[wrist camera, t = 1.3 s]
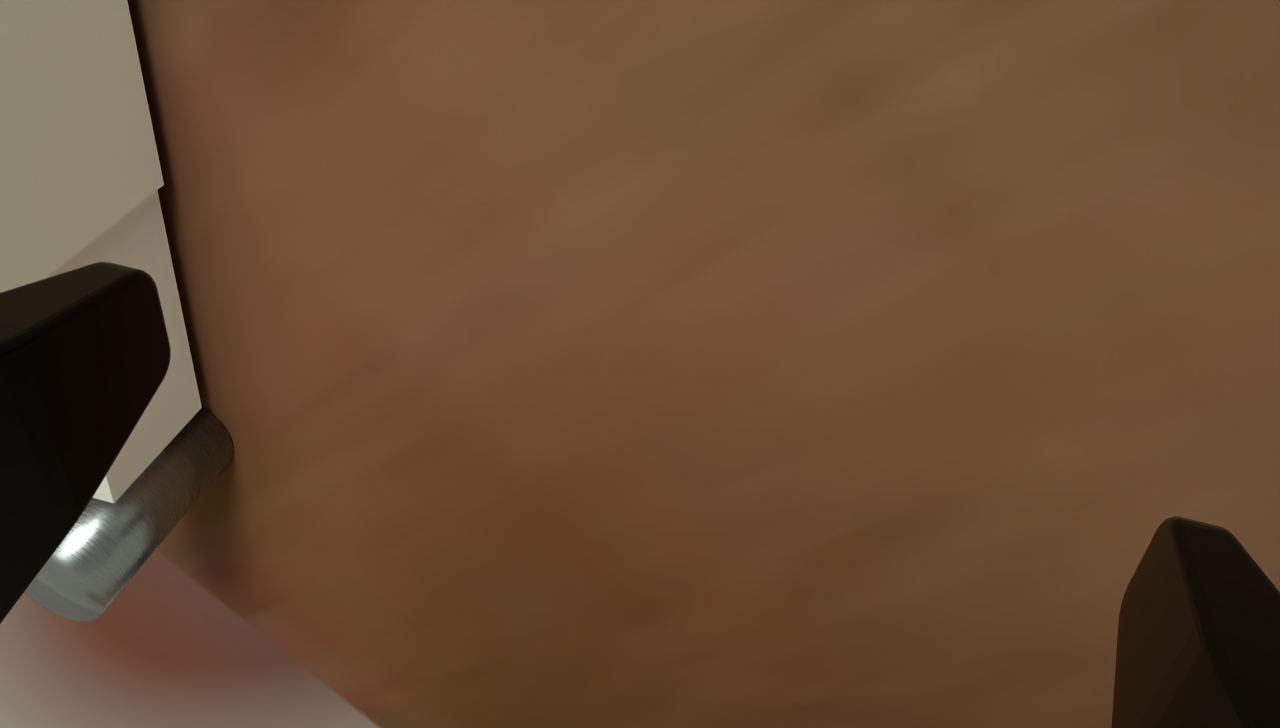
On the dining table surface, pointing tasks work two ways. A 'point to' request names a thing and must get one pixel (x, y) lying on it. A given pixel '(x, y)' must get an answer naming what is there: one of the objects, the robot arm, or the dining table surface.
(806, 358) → the dining table surface
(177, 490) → the hinge post
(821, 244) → the dining table surface
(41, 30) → the gate
